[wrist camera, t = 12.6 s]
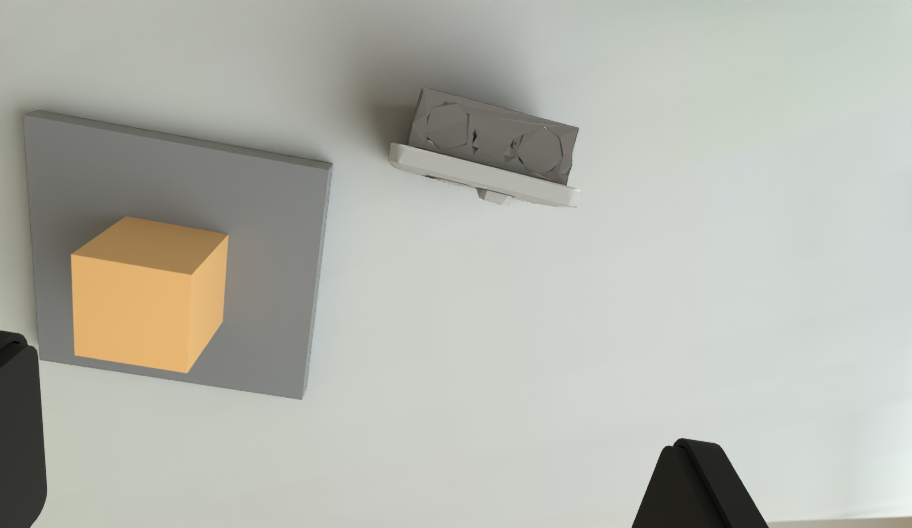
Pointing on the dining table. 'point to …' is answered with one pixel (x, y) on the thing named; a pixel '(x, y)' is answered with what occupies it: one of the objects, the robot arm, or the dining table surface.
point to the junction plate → (190, 205)
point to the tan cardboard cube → (148, 293)
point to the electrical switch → (489, 150)
